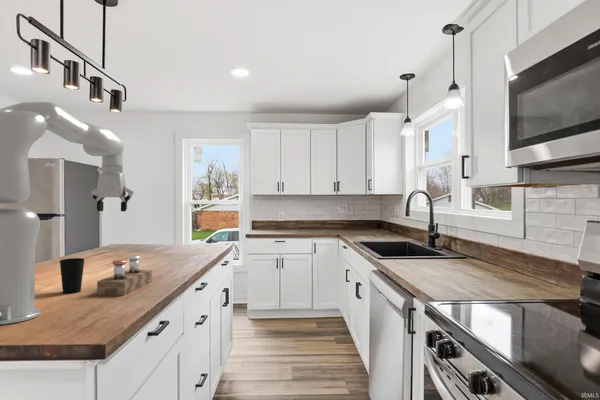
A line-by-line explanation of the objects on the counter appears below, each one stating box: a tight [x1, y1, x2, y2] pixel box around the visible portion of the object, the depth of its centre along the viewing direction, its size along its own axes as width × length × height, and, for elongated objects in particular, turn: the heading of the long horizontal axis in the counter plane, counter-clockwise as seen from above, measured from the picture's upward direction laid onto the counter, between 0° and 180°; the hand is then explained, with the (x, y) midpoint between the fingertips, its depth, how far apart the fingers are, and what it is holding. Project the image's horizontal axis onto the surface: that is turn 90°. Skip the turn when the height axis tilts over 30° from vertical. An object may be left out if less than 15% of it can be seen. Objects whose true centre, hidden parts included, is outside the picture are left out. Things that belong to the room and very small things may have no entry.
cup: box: [59, 257, 85, 295], centre depth 128 cm, size 8×8×12 cm
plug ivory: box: [127, 255, 141, 274], centre depth 141 cm, size 5×5×7 cm
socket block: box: [96, 269, 153, 297], centre depth 135 cm, size 22×10×5 cm, turn 179°
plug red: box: [112, 259, 127, 280], centre depth 130 cm, size 5×5×7 cm
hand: (112, 211), depth 144 cm, fingers open, 9 cm apart
